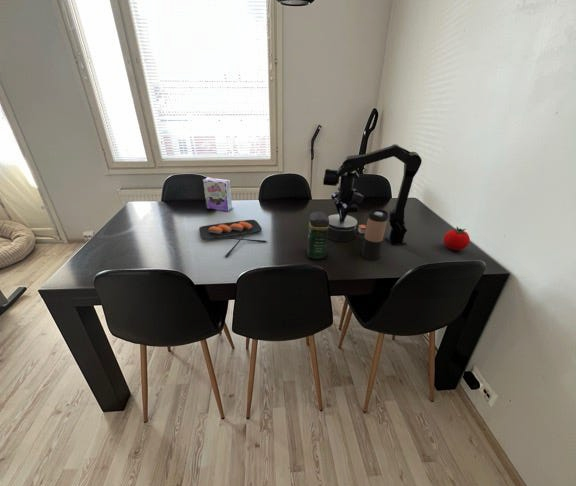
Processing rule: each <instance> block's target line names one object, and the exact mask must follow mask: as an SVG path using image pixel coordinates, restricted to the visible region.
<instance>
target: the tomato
mask: <svg viewBox="0 0 576 486" xmlns="http://www.w3.org/2000/svg"><path fill="white" fill-rule="evenodd" d="M470 241H471V238H470V235H469V233H468V232H466V228H463V229H462V228H459V227H458V226H456V229H455V228H452V229H450V230H448V231H447V232H446V233H445V234H444V236H443V244H444V246H445V247H446V248H447V249H449V250H451V251H462V250H464V249H466V248H467V247H468V246H469V244H470Z"/></svg>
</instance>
